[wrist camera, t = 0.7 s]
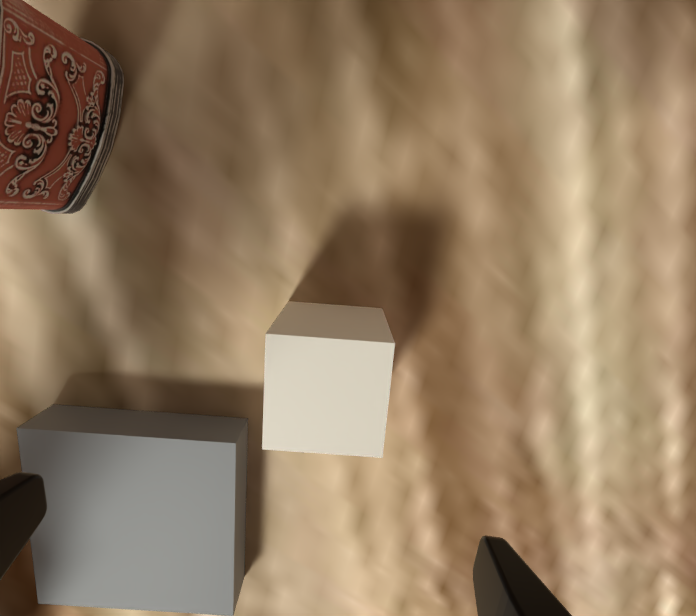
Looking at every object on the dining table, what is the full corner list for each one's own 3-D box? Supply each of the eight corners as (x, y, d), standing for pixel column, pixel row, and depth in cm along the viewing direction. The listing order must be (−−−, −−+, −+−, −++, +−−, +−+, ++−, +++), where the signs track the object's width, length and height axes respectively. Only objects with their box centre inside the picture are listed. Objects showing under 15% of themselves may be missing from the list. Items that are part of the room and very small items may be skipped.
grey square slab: (246, 570, 26) (233, 615, 23) (73, 559, 25) (37, 603, 22) (249, 414, 23) (235, 443, 20) (58, 400, 23) (16, 428, 20)
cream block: (373, 394, 22) (382, 457, 17) (284, 388, 22) (261, 449, 16) (382, 308, 21) (395, 343, 15) (288, 301, 21) (265, 333, 15)
